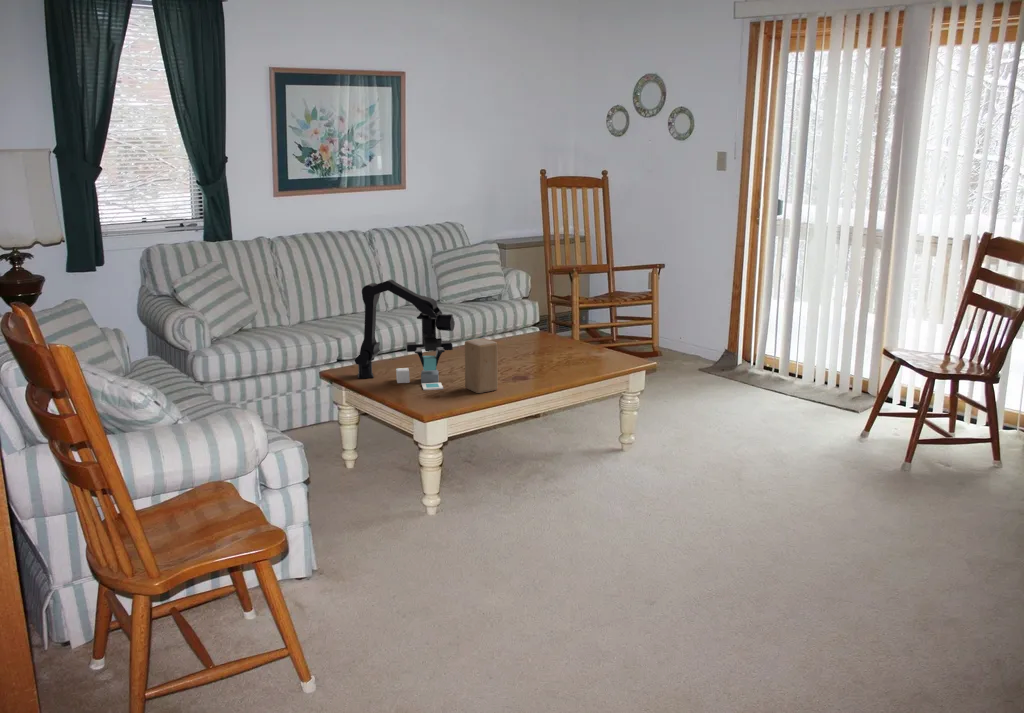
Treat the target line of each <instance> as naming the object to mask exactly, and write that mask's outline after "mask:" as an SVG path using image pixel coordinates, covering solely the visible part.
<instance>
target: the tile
mask: <svg viewBox="0 0 1024 713" xmlns="http://www.w3.org/2000/svg"><path fill="white" fill-rule="evenodd" d="M442 384H443V383H442V382H438V383H422V384H421V387H422V389H423V391H434V390H435V391H437V390H438V391H439V390H444V386H443V385H442Z"/></svg>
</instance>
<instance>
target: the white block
mask: <svg viewBox="0 0 1024 713" xmlns="http://www.w3.org/2000/svg"><path fill="white" fill-rule="evenodd" d="M395 373H396V374H395V375H396V376H395V377H396V383H397V384H408V383H410V382H411V381H410V379H411V378H410V370H409V367H403V368H399V367H398V368H396V369H395Z"/></svg>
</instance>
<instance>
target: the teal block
mask: <svg viewBox="0 0 1024 713" xmlns="http://www.w3.org/2000/svg"><path fill="white" fill-rule="evenodd" d="M423 362H424V367H423V366H422V369H423V370H424V371H431V370H437V366H436V355H423Z"/></svg>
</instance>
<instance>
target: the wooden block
mask: <svg viewBox="0 0 1024 713" xmlns="http://www.w3.org/2000/svg"><path fill="white" fill-rule="evenodd" d="M498 347H499V346H498V342H497V341H494V340H491V339H488V338H486V337H482V338H476V339H470V340H469V339H467V340H465V342H464V382H465V383H464V387H465V389H467V390H469V391H472V392H474V393H477V394H483V393H486V392H493V391H497V390H498V387H499V386H498V385H499V384H498V383H499V382H498V380H499V379H498V378H499V377H498V376H499V375H498V374H499V372H498V370H499V368H498V367H499V366H498V364H499V363H498V362H499V361H498V360H499V357H498V356H499V354H498V353H499V352H498V351H499V350H498V349H499V348H498Z"/></svg>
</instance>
